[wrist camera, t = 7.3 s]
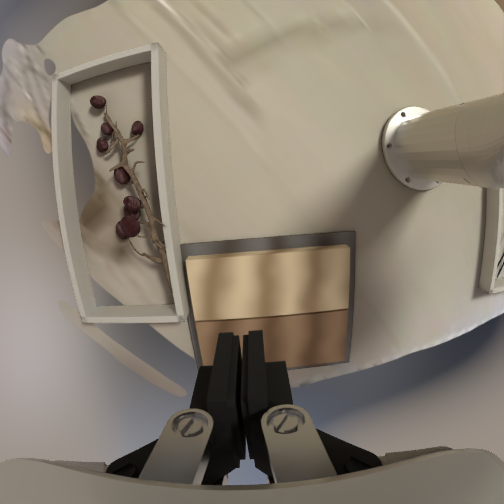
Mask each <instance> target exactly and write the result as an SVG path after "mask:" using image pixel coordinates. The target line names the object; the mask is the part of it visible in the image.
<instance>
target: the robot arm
mask: <svg viewBox="0 0 504 504" xmlns="http://www.w3.org/2000/svg"><path fill="white" fill-rule="evenodd" d="M401 115H402V116H401ZM387 145H388V148H387ZM382 149H383V154H384V158H385V161H386V164H387V166H388V168H389V169H390V171H391V173H392V174H393V175H394V176H395V178H396V179H397V180H398V181H400V182H401V183H402V184H404V185H405V186H407V187H409V188H412V189H416V190H429V189H433V188H435V187H436V186H438V185H439V184H441V183H442V182H447V183H455V184H463V185H471V186H478V187H484V188H492V189H501V188H504V93H502V94H498V95H495V96H491V97H487V98H484V99H479V100H475V101H471V102H467V103H463V104H459V105H455V106H451V107H447V108H443V109H439V110H435V111H431V112H430V111H428V110H426V109H424V108H421V107H406V108H403V109H400V110H398V111H397V112H395V113H394V114H393V115H392V116H391V117H390V118H389V120H388V122H387V123H386V125H385V128H384V131H383V137H382ZM405 179H406V181H405ZM246 439H247V445H248V451H249V457H250V459H254V461H255V467H256V468H257V469H259V470H261V471H262V472H263V473H265V474H267V480H268V484H260V485H227V481H228V473H229V472H231V471H232V470H234V469H235V468H239V467H240V460H242V459H245V454H246ZM0 504H504V461H503V460H501V459H500V458H499V457H498V456H497V455H495V454H494V453H492V452H490V451H487V450H483V449H472V448H471V449H470V448H467V449H452V448H449V447H445V446H438V447H432V448H426V449H419V450H411V451H402V452H391V453H386V454H385V456H378V457H377V456H376V455H375V454H373V453H371V452H369V451H367V450H364V449H362V448H359V447H357V446H354V445H352V444H350V443H347V442H345V441H343V440H340V439H338V438H336V437H334V436H331V435H329V434H327V433H325V432H322V431H320V430H318V429H316V428H315V426H314V424H313V422H312V420H311V417H310V415H309V414H308V413H307V411H306V410H304V409H303V408H301V407H299V406H296V405H293V401H292V395H291V389H290V384H289V378H288V372H287V366H286V361H275V362H265V354H264V342H263V330H254V331H248V335H243V350H242V354H241V346H240V339H239V335H235V336H234V333H233V332H224V333H219V334H218V340H217V345H216V350H215V356H214V361H213V365H211V366H200V368H199V371H198V375H197V380H196V383H195V388H194V392H193V396H192V400H191V405H190V409H185V410H182V411H179V412H177V413H175V414H174V415H173V416H171V417H170V419H169V420H168V422H167V424H166V426H165V428H164V429H163V431H162V433H161V435H160V437H159V439H157V440H155V441H153V442H151V443H149V444H147V445H145V446H143V447H142V448H140V449H138V450H136V451H134V452H132V453H130V454H128V455H125V456H123V457H121V458H119V459H117V460H116V461H114V462H112V463H111V464H110V465H106V464H105V462H75V461H60V460H59V461H49V460H44V459H33V458H16V459H10V460H6V461H4V462H2V463H0Z"/></svg>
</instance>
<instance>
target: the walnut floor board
mask: <svg viewBox="0 0 504 504" xmlns="http://www.w3.org/2000/svg"><path fill="white" fill-rule="evenodd" d="M341 244H346V245H347V246H349V247H350V280H349V305H348V308H346V309H338V310H329V311H320V312H310V313H300V314H290V315H278V316H266V317H253V318H238V319H221V320H202V321H195V318H194V312H193V306H192V300H191V294H190V288H189V281H188V275H187V268H186V261H185V260H186V259H187V257H188V256H198V255H211V254H224V253H237V252H250V251H263V250H276V249H289V248H302V247H315V246H328V245H341ZM180 249H181V257H182V264H183V271H184V277H185V284H186V290H187V296H188V302H189V308H190V312H189V314H188V321H189V327H190V332H191V337H192V342H193V348H194V353H195V357H196V362H197V367H198V371H199V368H200V366H211V365H213V361H214V356H215V350H216V345H217V340H218V334H219V333H224V332H233V333H234V336H235V335H239V339H240V346H241V354H242V350H243V335H248V331H254V330H263V342H264V354H265V362H275V361H286V366H287V370H291V369H301V368H310V367H318V366H326V365H333V364H340V363H347V362H349V359H350V349H351V337H352V324H353V308H354V287H355V231H348V232H333V233H318V234H304V235H290V236H277V237H264V238H251V239H238V240H225V241H213V242H201V243H189V244H180Z"/></svg>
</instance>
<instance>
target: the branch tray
mask: <svg viewBox="0 0 504 504" xmlns="http://www.w3.org/2000/svg"><path fill="white" fill-rule="evenodd" d="M147 62H151V85H152V112H153V130H154V145H155V158H156V170H157V180H158V190H159V199H160V208H161V216H162V223H163V224H164V225H165V226H166V227H165V226H163V232H164V239H165V246H166V253H167V260H168V266H169V273H170V279H171V285H172V290H173V296H174V302H175V304H167V305H138V306H97V305H96V302H95V297H94V293H93V289H92V285H91V281H90V276H89V272H88V267H87V262H86V257H85V252H84V247H83V242H82V236H81V230H80V223H79V217H78V210H77V202H76V194H75V185H74V174H73V163H72V146H71V85H72V84H74V83H77V82H80V81H83V80H86V79H89V78H92V77H95V76H98V75H102V74H105V73H108V72H112V71H115V70H119V69H123V68H126V67H130V66H134V65H138V64H143V63H147ZM51 120H52V153H53V169H54V180H55V191H56V199H57V207H58V214H59V221H60V227H61V233H62V239H63V244H64V250H65V255H66V260H67V264H68V269H69V273H70V278H71V281H72V285H73V290H74V294H75V297H76V301H77V305H78V308H79V312H80V315H81V319H82V322H83V323H165V322H185V321H186V319H187V317H188V314H189V312H190V308H189V302H188V296H187V290H186V284H185V277H184V271H183V264H182V257H181V249H180V236H179V228H178V220H177V212H176V203H175V193H174V183H173V173H172V161H171V149H170V135H169V120H168V101H167V76H166V52H165V51H164V49H163V48H162V47H161V45H160V44H159V43H154V44H149V45H145V46H141V47H137V48H133V49H129V50H125V51H122V52H118V53H115V54H111V55H108V56H105V57H102V58H99V59H96V60H93V61H90V62H87V63H84V64H81V65H78V66H76V67H73V68H70V69H68V70H65V71H63V72H60V73H58V74H55V75H53V82H52V115H51Z"/></svg>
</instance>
